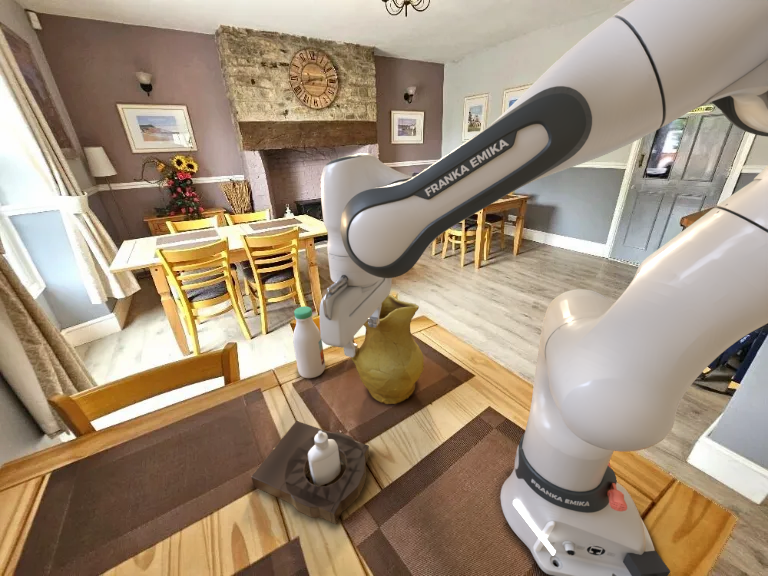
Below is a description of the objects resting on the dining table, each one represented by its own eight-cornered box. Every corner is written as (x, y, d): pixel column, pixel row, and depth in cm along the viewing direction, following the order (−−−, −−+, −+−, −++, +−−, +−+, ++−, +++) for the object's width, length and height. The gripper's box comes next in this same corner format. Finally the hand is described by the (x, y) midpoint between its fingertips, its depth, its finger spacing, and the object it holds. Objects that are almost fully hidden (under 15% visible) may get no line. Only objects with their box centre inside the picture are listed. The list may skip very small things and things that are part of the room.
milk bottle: (319, 380, 86) (310, 318, 78) (293, 377, 88) (282, 315, 79) (329, 363, 93) (322, 304, 85) (305, 360, 94) (295, 302, 86)
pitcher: (406, 420, 72) (403, 326, 63) (343, 396, 81) (331, 310, 72) (434, 378, 86) (434, 295, 77) (376, 361, 95) (370, 285, 86)
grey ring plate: (377, 455, 65) (377, 445, 64) (342, 532, 52) (340, 521, 51) (299, 427, 72) (298, 418, 70) (251, 489, 59) (248, 479, 58)
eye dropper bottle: (340, 485, 59) (334, 441, 54) (310, 487, 59) (302, 443, 54) (341, 463, 63) (336, 421, 58) (313, 466, 63) (306, 423, 58)
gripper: (343, 295, 39) (353, 380, 45) (396, 248, 57) (398, 314, 62) (302, 289, 42) (316, 371, 47) (365, 246, 59) (370, 310, 64)
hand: (363, 338), depth 55 cm, fingers open, 8 cm apart
